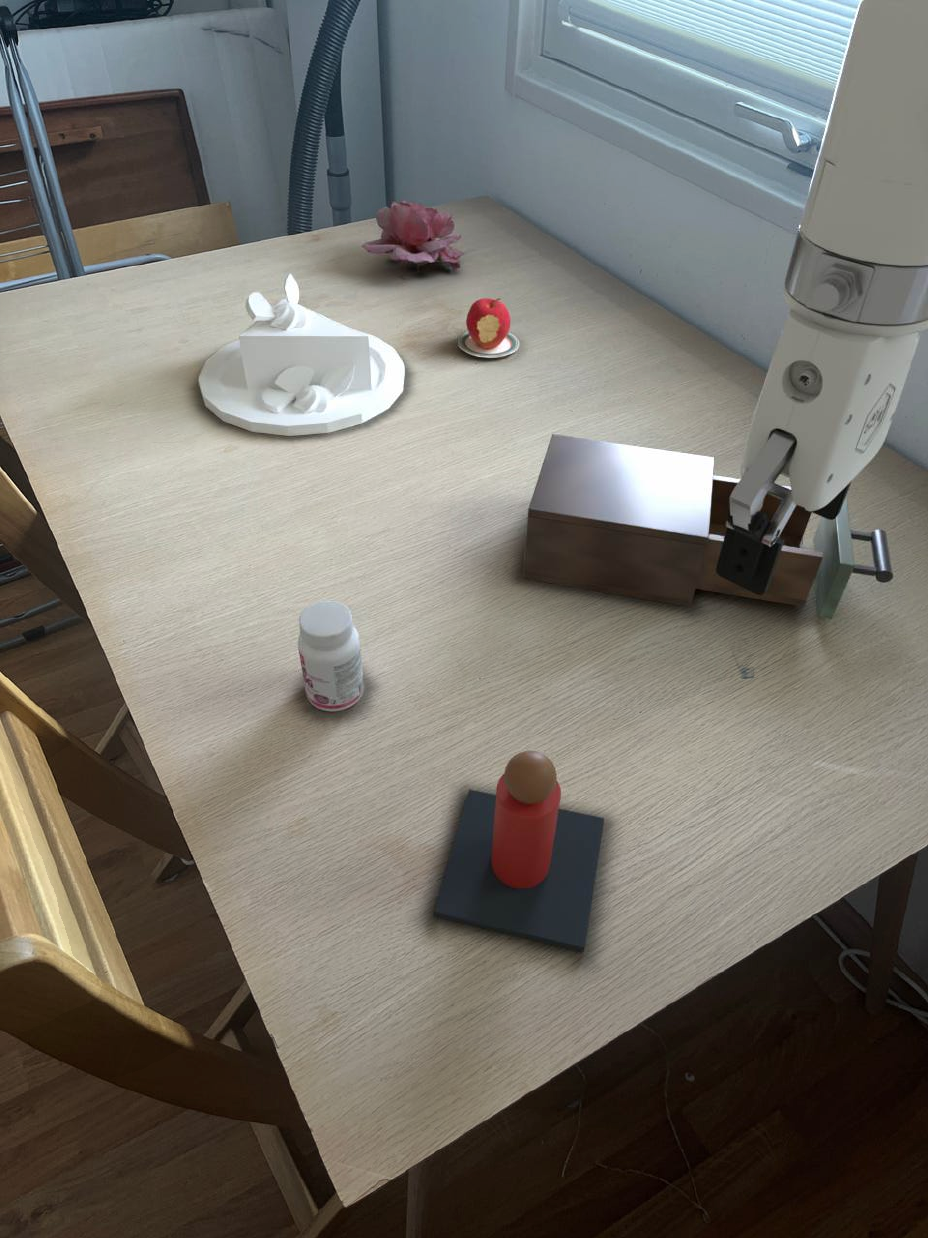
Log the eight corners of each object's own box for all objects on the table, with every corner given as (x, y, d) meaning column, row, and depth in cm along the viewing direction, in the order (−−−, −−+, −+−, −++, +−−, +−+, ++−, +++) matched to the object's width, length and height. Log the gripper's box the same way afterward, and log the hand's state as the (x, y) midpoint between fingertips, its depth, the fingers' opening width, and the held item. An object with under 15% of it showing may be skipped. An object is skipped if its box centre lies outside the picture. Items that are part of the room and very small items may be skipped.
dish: (159, 410, 103) (136, 318, 95) (266, 321, 120) (253, 237, 112) (350, 453, 97) (342, 359, 89) (433, 353, 114) (433, 266, 106)
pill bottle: (293, 692, 72) (280, 617, 66) (337, 661, 74) (328, 587, 69) (332, 723, 70) (321, 649, 64) (376, 690, 72) (370, 616, 66)
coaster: (603, 822, 63) (604, 818, 63) (583, 952, 56) (584, 948, 56) (468, 793, 65) (469, 789, 65) (433, 916, 58) (433, 912, 58)
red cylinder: (554, 844, 61) (570, 742, 53) (544, 895, 59) (559, 795, 51) (498, 831, 62) (506, 729, 54) (485, 881, 59) (492, 781, 51)
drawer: (870, 548, 85) (893, 495, 81) (881, 628, 77) (908, 574, 73) (675, 517, 88) (688, 465, 84) (667, 591, 80) (680, 537, 76)
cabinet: (697, 524, 89) (714, 457, 83) (690, 607, 80) (709, 537, 74) (545, 500, 91) (552, 433, 86) (522, 578, 82) (528, 509, 77)
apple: (531, 350, 115) (534, 302, 110) (481, 366, 112) (482, 317, 107) (495, 327, 120) (497, 279, 115) (446, 341, 116) (446, 293, 112)
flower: (427, 280, 123) (431, 202, 119) (346, 270, 130) (347, 196, 126) (484, 277, 134) (489, 205, 130) (407, 267, 141) (409, 199, 137)
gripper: (869, 361, 37) (768, 646, 49) (1003, 245, 46) (890, 507, 58) (711, 308, 40) (652, 586, 52) (865, 210, 50) (786, 464, 62)
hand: (778, 544), depth 55 cm, fingers open, 9 cm apart
